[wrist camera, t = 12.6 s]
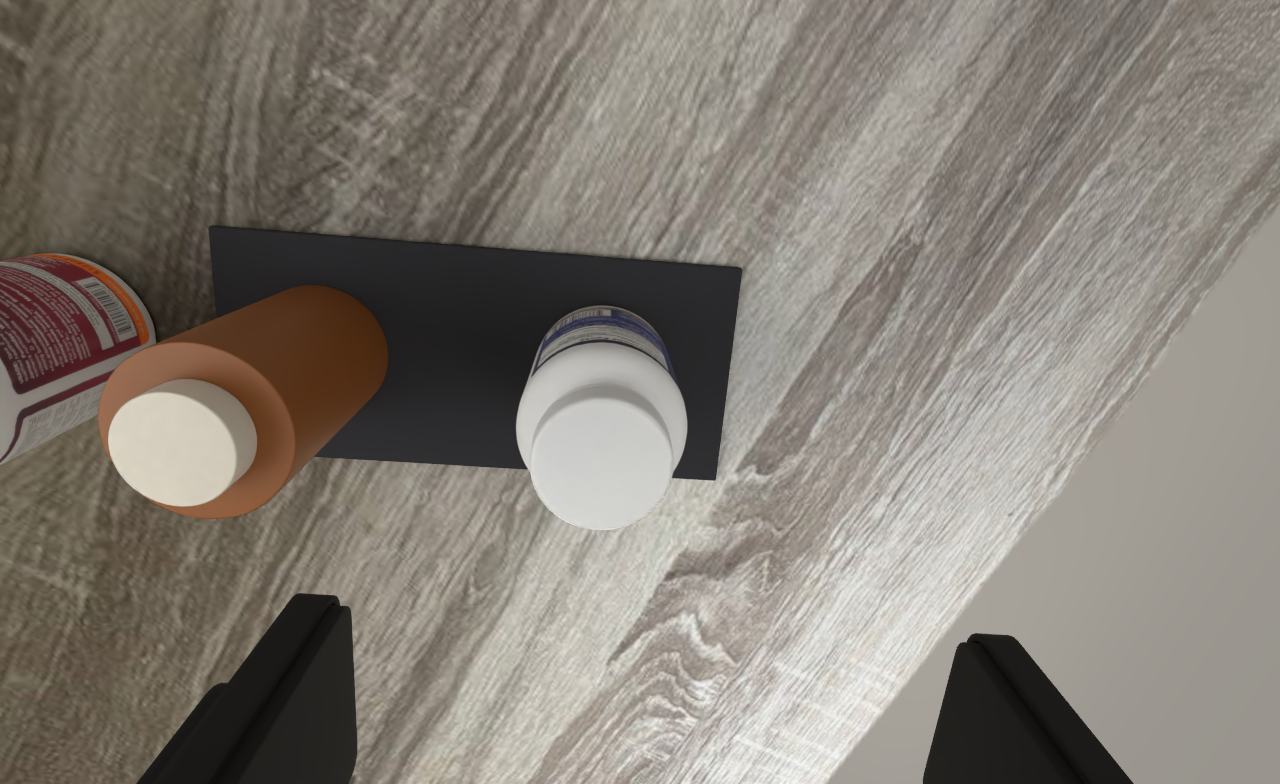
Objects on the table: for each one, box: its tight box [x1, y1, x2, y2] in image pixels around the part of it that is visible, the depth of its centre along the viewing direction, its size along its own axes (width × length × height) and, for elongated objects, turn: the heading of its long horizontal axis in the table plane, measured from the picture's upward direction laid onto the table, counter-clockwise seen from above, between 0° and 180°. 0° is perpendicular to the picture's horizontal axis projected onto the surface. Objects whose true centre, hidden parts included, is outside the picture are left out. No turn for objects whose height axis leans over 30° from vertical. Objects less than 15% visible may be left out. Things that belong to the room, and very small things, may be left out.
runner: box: [209, 226, 742, 480], centre depth 29 cm, size 20×9×1 cm, turn 85°
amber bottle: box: [98, 285, 388, 519], centre depth 24 cm, size 5×5×10 cm
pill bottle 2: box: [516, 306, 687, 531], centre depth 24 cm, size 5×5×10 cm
